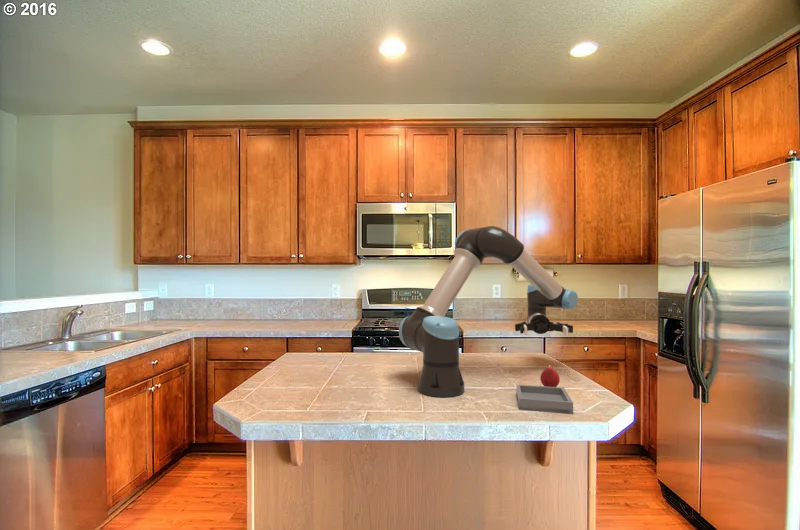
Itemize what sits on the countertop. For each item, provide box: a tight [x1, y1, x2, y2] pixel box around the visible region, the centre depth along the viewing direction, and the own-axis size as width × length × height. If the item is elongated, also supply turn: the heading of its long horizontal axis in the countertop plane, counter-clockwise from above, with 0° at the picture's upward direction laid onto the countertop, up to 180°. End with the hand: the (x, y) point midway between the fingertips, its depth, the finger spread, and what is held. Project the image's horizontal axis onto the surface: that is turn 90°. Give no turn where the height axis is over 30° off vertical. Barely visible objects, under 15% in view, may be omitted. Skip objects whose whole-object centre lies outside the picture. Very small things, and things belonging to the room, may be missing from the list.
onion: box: [540, 365, 561, 387], centre depth 124 cm, size 6×6×8 cm
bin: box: [515, 384, 574, 415], centre depth 112 cm, size 14×14×3 cm
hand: (546, 331), depth 134 cm, fingers open, 13 cm apart
